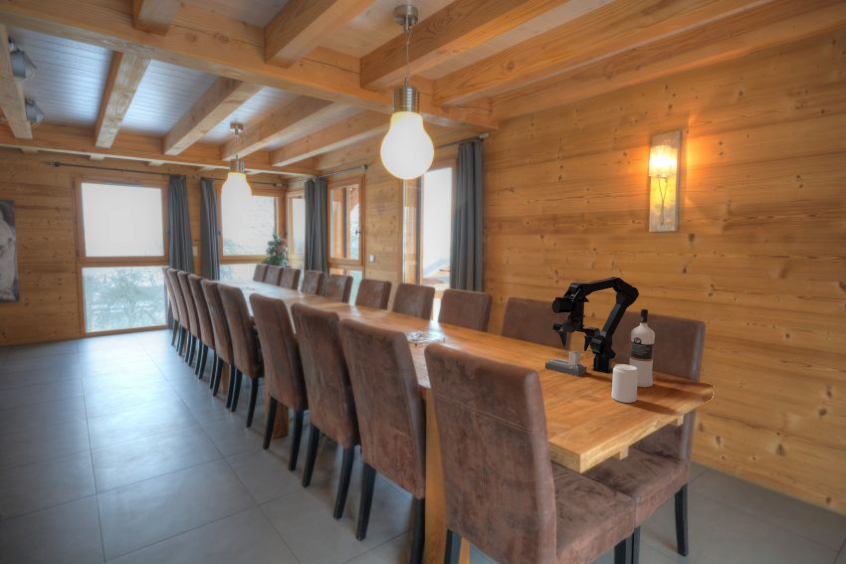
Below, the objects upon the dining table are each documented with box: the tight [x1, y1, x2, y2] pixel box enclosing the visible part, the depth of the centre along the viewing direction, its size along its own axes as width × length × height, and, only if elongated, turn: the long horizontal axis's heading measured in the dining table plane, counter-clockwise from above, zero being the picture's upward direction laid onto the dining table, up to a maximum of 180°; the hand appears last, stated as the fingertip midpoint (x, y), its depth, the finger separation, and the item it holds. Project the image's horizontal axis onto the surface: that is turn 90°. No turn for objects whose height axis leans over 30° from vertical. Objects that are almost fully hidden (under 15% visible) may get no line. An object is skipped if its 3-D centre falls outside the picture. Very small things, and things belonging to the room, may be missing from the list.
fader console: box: [544, 358, 587, 377], centre depth 194 cm, size 15×8×4 cm, turn 46°
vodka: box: [629, 308, 656, 388], centre depth 176 cm, size 9×9×30 cm
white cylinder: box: [611, 363, 638, 404], centre depth 160 cm, size 8×8×12 cm
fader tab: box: [568, 350, 581, 366], centre depth 191 cm, size 3×4×6 cm
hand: (574, 348), depth 190 cm, fingers open, 9 cm apart
